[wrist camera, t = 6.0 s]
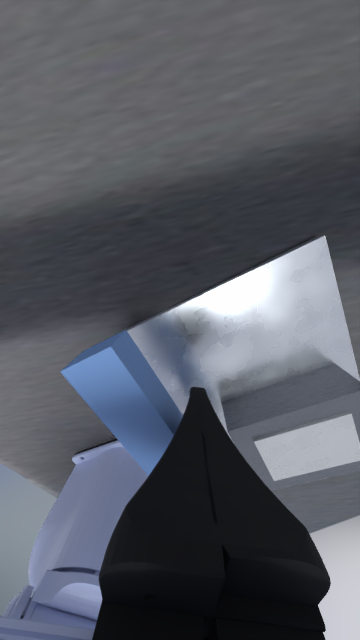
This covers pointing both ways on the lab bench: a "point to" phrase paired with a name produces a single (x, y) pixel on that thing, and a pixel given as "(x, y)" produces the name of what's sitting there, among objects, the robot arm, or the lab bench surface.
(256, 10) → the lab bench surface
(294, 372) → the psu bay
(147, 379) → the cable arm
